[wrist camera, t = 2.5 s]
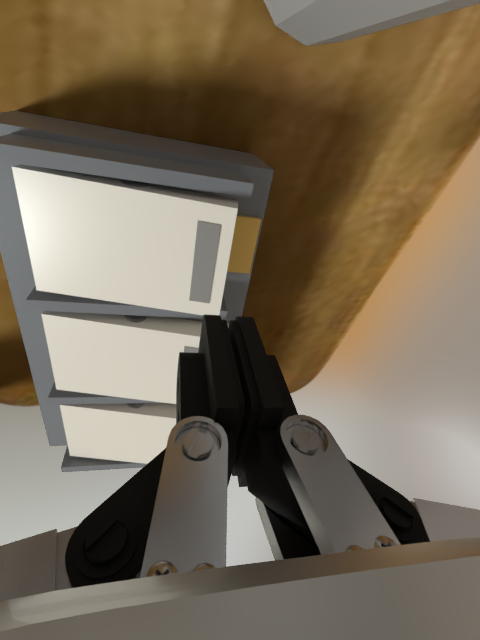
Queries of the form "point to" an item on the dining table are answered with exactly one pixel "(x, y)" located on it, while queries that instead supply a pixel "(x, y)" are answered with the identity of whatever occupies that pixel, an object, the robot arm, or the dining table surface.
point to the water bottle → (351, 16)
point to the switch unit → (130, 164)
